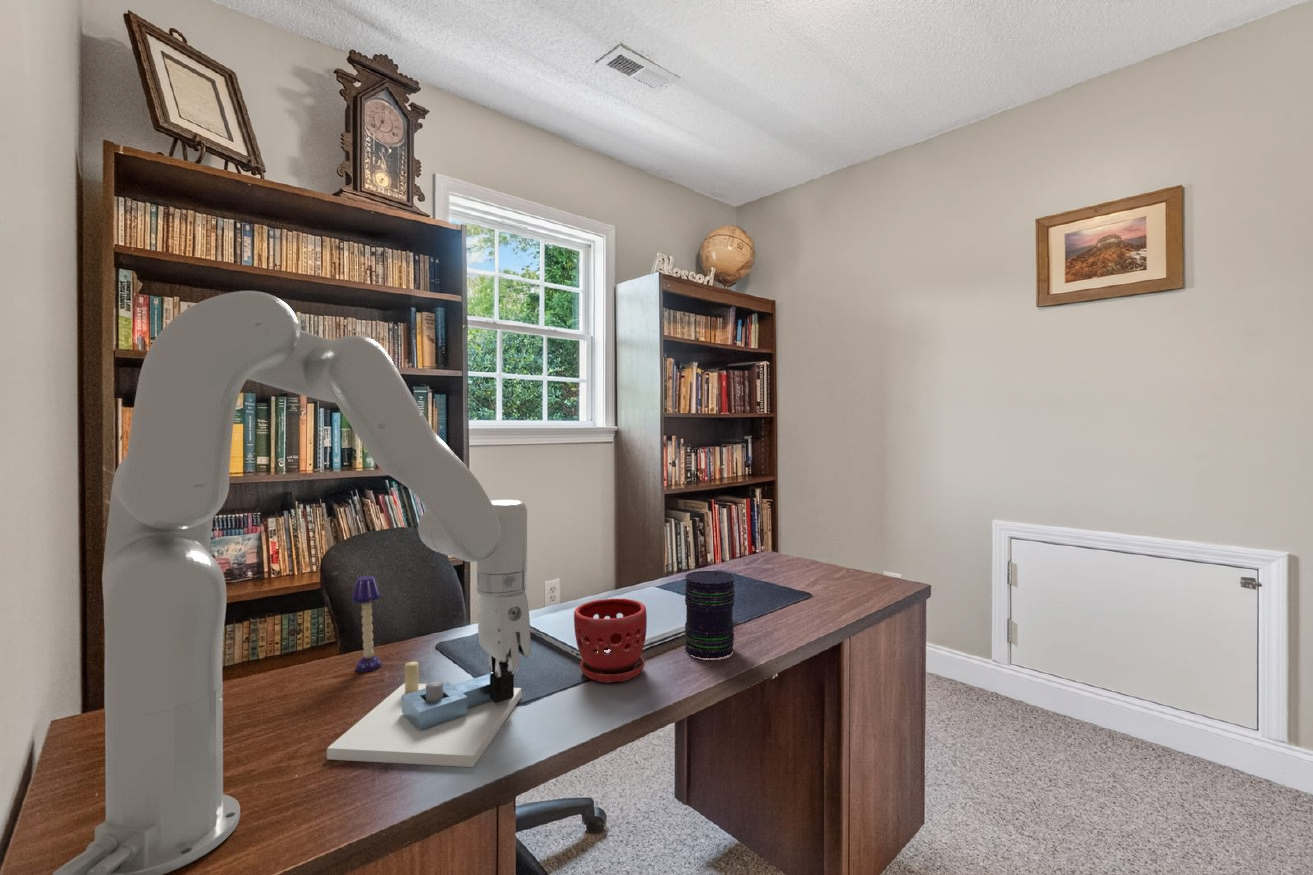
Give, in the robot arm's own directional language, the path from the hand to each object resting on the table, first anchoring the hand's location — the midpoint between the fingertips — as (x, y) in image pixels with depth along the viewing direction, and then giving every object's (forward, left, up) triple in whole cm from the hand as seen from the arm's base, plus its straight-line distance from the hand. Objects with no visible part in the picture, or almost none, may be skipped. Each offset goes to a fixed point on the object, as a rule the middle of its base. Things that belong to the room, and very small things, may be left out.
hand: (501, 698), depth 90 cm
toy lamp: (+15, +31, -3) cm, 34 cm away
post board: (-4, +9, -2) cm, 10 cm away
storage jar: (+29, -32, -3) cm, 43 cm away
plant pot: (+17, -14, -3) cm, 22 cm away
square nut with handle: (-1, +6, -1) cm, 6 cm away
